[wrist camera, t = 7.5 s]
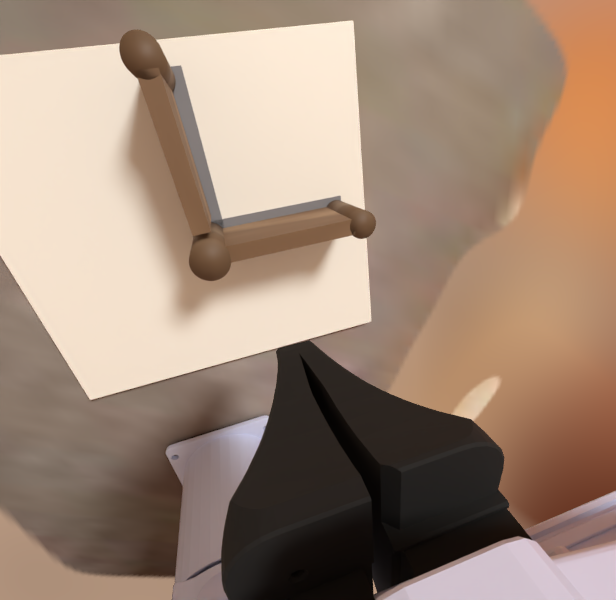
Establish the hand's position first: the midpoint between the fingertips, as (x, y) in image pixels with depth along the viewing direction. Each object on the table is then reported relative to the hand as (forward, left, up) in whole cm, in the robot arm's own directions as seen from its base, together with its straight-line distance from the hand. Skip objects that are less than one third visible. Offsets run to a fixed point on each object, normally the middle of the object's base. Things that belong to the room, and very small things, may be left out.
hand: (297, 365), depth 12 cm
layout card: (+4, +3, -9) cm, 10 cm away
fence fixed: (+3, -1, -9) cm, 10 cm away
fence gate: (+8, +3, -9) cm, 12 cm away
